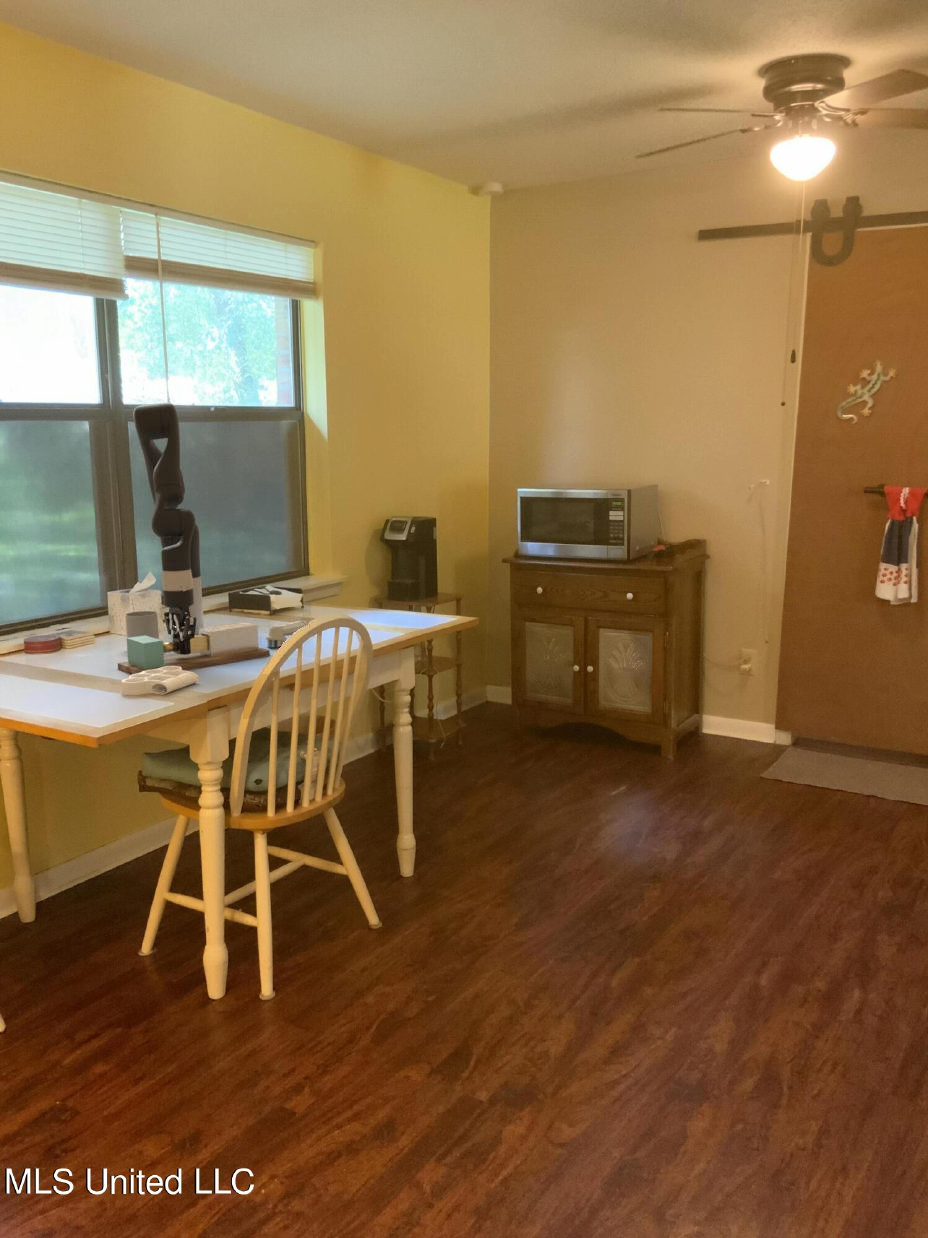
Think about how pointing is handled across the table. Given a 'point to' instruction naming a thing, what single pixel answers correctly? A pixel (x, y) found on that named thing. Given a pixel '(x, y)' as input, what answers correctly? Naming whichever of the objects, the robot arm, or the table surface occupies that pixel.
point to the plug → (195, 644)
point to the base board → (198, 660)
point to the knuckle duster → (158, 681)
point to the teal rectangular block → (145, 652)
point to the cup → (142, 624)
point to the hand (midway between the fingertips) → (182, 652)
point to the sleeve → (230, 638)
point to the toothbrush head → (283, 632)
